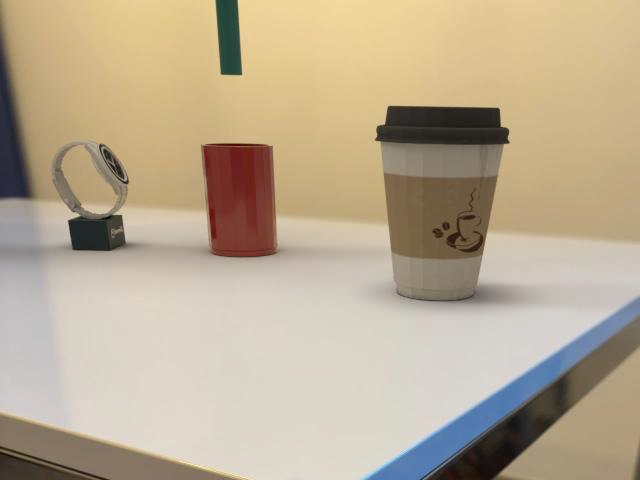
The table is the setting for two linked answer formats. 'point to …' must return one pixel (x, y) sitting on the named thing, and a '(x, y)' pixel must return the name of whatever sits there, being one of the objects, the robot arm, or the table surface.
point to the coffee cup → (439, 195)
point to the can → (240, 198)
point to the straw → (229, 37)
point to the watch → (91, 227)
